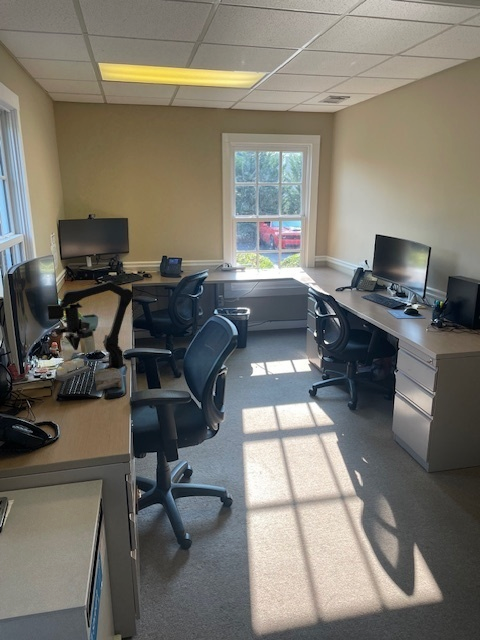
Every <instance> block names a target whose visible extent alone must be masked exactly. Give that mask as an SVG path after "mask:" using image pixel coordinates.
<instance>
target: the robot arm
mask: <svg viewBox="0 0 480 640" xmlns="http://www.w3.org/2000/svg"><path fill="white" fill-rule="evenodd" d="M108 291H111V292H112V293H114V294H116V295H118V296H117V306H116V307H117V308H116V311H115V314H114V318H113V320H112V324H111V328H110V330H109V333H108V335H107V334H105V335H104V339H103V341H102V343H103V347H104V349H105V351H106V352H107V353H108V365H107V367H108V368H115V369H119V368H121V367H123V366H126V363H124V356H123V355H124V354H123V349H122V348H121V346H119V336H120V335H119V334H120V331H121V327H122V324H123V322H124V317H125V314H126V310H127V307H128V306H129V304H130V303H131V301H132V299H133V298H134V292H133V291H132V290H131V289H130V288H129V287H125V286H124V287H122V286H120V285H118V284H116V283H114V282H113V281H111V280H107V281H106V282H102V283H99V284H96V285H91V286H89V287H85V288H80V289H79V288H78V289H77V288H75V289H68V290H65V291H64V292H63V295H62V299H61V301H60V303H59V304H48V305H47V310H48V311H47V317H48V321H53V320H54V321H55V320H62V319H63V318H64V317H65V320H63V322H64V323H65V325H66V326H64V325H63V326H60V327H57V328H56V329H55V335H56V336H57V335H58V336H61V335H62V334H63V333H64V334H65V335H64V338H65V339H66V340H67V341H68V342H69V344H70V345H71V348H73V350H74V351H77V350H78V349H79V344H80V339H81V338H87V337H90V336H93V333H94V330H88V329H89V327H90V323H86V322H82V318H80V315H79V308H82V307H83V306H82V304H80V301H81V300H83V299H86V298H87V297H91V296H94V295H98V294H101V293H105V292H108Z"/></svg>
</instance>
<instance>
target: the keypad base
mask: <svg viewBox="0 0 480 640" xmlns="http://www.w3.org/2000/svg"><path fill="white" fill-rule="evenodd" d="M88 370H91V366H88V365H84V366H83V367H82V368H80V369H75V370H72V372H68V371H67V374H64V375H61V376H58V375H57V376H56V380H55V381H60V382H66V381H68V380H67V379H69V378H71V377H74V376H76V375H78V374H81V373H83V372H86V371H88ZM76 377H77V376H76ZM74 378H75V377H74ZM71 379H72V378H71ZM65 380H66V381H65ZM69 380H70V379H69Z"/></svg>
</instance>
